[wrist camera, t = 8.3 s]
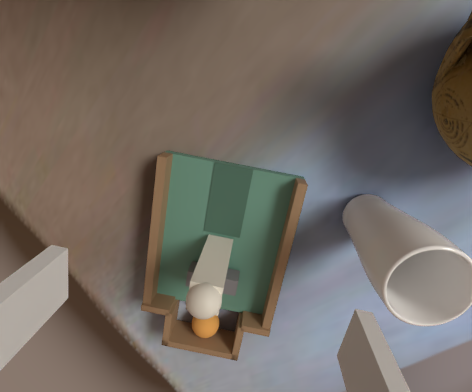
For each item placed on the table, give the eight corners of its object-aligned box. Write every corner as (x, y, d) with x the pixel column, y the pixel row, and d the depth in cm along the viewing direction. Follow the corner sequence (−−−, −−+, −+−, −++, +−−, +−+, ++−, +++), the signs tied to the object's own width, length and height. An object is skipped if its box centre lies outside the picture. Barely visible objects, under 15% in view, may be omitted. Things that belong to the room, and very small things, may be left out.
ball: (195, 309, 43) (195, 303, 40) (221, 314, 43) (222, 308, 40) (189, 336, 41) (187, 332, 38) (215, 342, 41) (216, 338, 38)
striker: (196, 231, 37) (167, 288, 26) (246, 241, 37) (238, 303, 25) (189, 274, 39) (160, 346, 27) (236, 284, 38) (226, 360, 27)
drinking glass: (331, 238, 37) (374, 324, 23) (338, 184, 35) (391, 242, 21) (388, 242, 37) (468, 332, 23) (399, 188, 35) (495, 249, 21)
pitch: (167, 150, 36) (156, 156, 32) (303, 176, 35) (308, 186, 32) (148, 318, 43) (137, 340, 39) (261, 342, 43) (261, 365, 39)
